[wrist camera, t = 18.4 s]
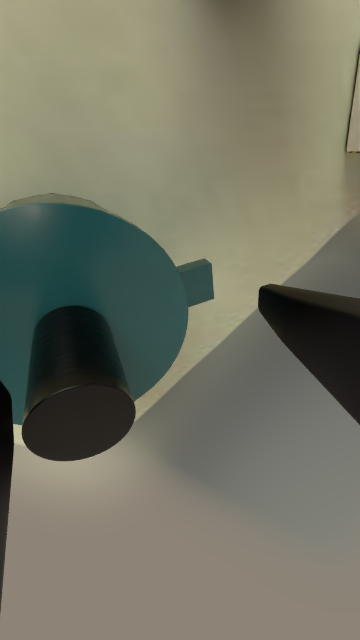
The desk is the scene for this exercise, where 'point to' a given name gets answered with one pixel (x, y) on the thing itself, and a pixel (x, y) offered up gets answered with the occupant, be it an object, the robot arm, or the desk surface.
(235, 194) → the desk surface
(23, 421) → the lid
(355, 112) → the medicine bottle
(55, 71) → the desk surface
